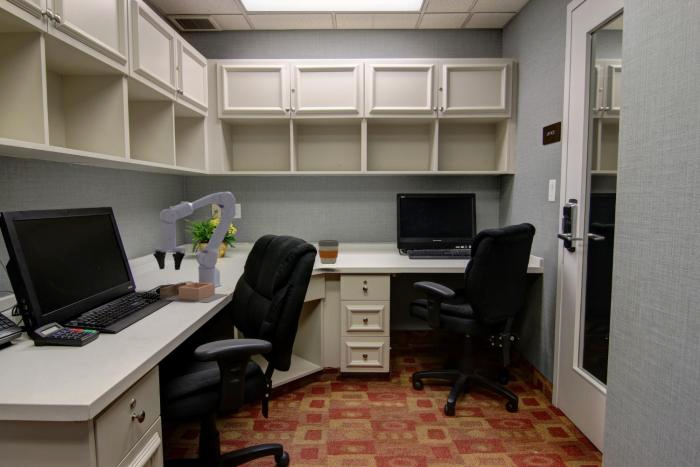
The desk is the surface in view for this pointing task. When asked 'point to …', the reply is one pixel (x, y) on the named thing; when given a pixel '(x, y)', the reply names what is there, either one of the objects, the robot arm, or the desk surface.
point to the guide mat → (205, 300)
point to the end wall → (170, 290)
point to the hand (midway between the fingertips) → (169, 269)
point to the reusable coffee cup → (328, 251)
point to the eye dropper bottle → (188, 282)
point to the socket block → (196, 291)
